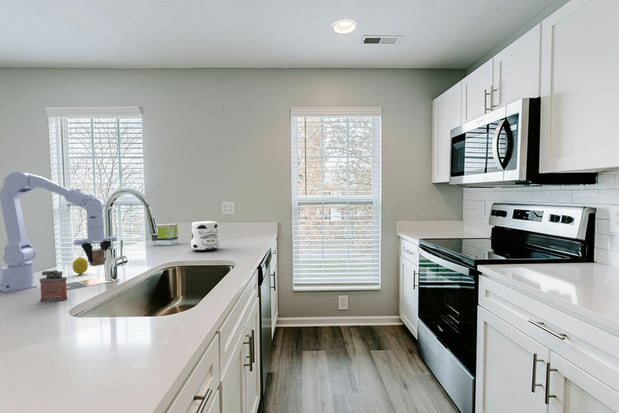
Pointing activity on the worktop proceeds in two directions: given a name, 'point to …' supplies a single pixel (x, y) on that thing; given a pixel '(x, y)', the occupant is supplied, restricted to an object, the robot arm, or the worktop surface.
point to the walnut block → (97, 257)
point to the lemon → (80, 265)
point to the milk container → (204, 236)
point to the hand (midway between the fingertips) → (96, 260)
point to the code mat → (74, 285)
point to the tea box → (166, 235)
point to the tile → (95, 281)
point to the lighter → (53, 287)
